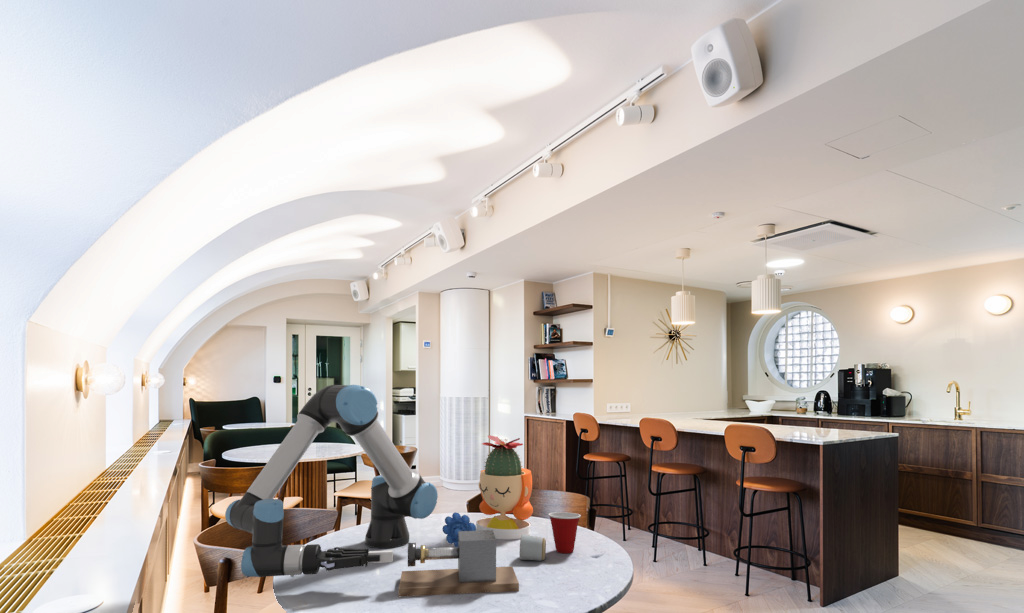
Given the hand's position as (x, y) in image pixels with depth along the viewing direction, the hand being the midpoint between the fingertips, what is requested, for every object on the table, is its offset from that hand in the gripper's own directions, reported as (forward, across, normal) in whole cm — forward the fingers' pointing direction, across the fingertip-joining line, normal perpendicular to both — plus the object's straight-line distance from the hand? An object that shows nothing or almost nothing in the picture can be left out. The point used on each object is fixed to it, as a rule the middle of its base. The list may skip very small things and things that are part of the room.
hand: (392, 556), depth 161 cm
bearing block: (+23, -1, -6) cm, 24 cm away
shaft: (+13, -1, -3) cm, 14 cm away
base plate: (+19, -1, -8) cm, 21 cm away
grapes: (+19, -33, -9) cm, 39 cm away
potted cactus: (+38, -55, -9) cm, 67 cm away
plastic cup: (+54, -28, -9) cm, 61 cm away
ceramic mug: (+42, -21, -9) cm, 48 cm away
